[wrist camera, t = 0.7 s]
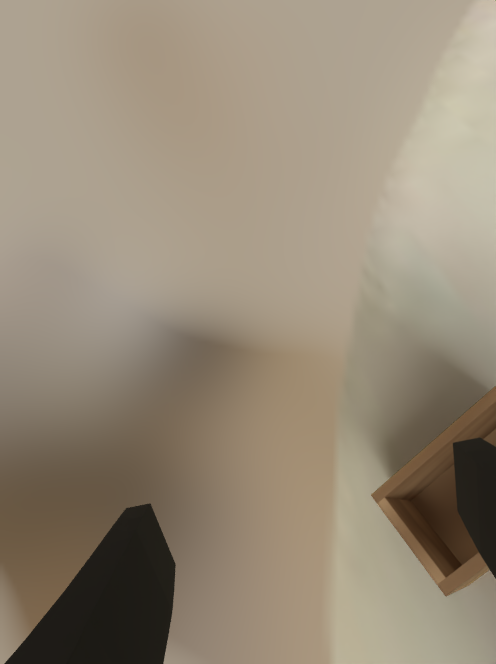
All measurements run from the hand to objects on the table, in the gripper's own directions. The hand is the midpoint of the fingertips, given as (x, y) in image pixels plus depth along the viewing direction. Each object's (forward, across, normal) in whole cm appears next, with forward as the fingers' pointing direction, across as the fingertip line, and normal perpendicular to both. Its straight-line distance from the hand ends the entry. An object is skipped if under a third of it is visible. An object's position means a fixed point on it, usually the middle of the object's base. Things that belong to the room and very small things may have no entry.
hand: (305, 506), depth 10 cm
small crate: (+9, -9, +11) cm, 17 cm away
